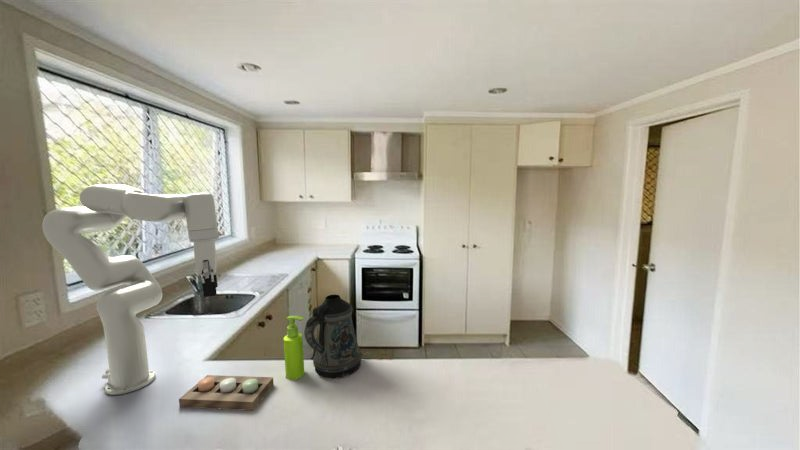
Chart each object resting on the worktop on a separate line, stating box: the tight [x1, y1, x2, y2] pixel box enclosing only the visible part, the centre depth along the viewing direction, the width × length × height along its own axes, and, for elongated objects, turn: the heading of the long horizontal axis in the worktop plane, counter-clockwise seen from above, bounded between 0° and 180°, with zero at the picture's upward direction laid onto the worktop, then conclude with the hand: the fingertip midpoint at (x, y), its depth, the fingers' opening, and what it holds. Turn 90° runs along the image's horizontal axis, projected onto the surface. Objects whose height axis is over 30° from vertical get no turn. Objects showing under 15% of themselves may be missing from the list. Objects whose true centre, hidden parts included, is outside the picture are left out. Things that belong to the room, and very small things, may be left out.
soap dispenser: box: [283, 315, 305, 380], centre depth 107 cm, size 6×7×20 cm
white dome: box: [220, 378, 236, 393], centre depth 97 cm, size 4×4×2 cm
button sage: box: [242, 379, 258, 394], centre depth 97 cm, size 4×4×2 cm
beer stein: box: [303, 294, 363, 380], centre depth 110 cm, size 16×19×25 cm
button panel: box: [178, 374, 274, 411], centre depth 98 cm, size 22×12×2 cm, turn 85°
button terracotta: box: [197, 377, 215, 392], centre depth 98 cm, size 4×4×2 cm
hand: (211, 291), depth 98 cm, fingers open, 9 cm apart
